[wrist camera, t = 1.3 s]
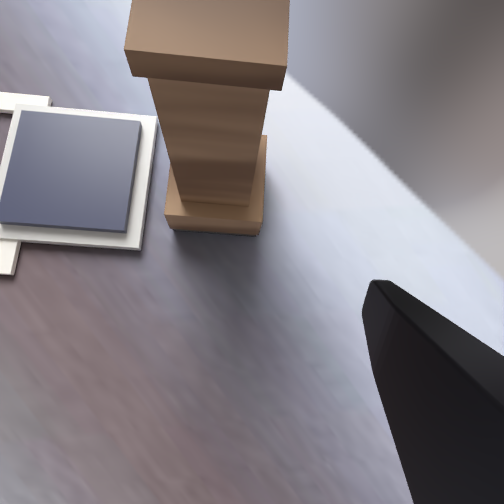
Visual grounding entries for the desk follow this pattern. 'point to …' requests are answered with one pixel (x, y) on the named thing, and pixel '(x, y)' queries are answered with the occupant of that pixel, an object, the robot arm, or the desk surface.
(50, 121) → the ink pad
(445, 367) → the robot arm
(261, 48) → the stamp
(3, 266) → the marked square
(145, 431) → the desk surface
